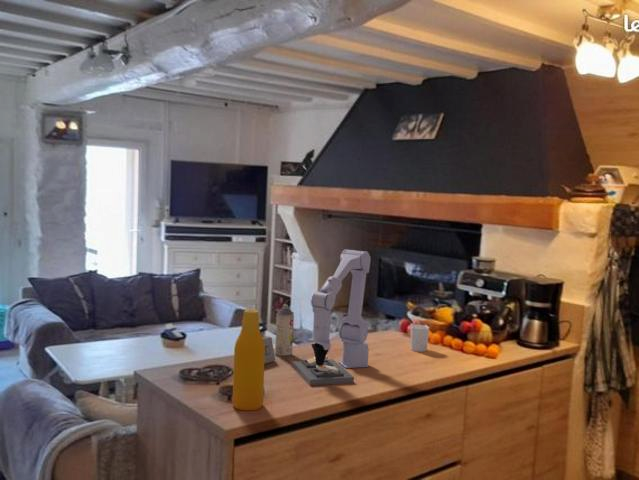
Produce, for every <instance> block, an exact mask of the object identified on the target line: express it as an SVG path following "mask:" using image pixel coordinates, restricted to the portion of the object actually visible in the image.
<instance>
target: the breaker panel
mask: <svg viewBox="0 0 639 480" xmlns="http://www.w3.org/2000/svg"><path fill="white" fill-rule="evenodd" d="M307 360H308V359H301V360H292V361H291V367H292V368H293V369H294V370H295V372H297V374H298V375H299V376H300V377H301V378H302V379H303V380H304V381H305V383H307V384H308V386H326V385H339V384H354V383H355V382H354V381H355V376H353V375H352V374H351V373H350V372H348V371H347V370H346V368H345V367H344V366H343V367H342V365H341V364H340V363H339V362H338V361H335V360H334V359H332V358H331V359H330V358H328V359H327V360H325V361H324V364H323V365H327V366H333V367H336V368H337V369H338V370H339V371H338V373H332V371H328V373H327V372H326V371H320V370H318V369H317V368H316V364H315V365H309V364H308V363H307Z"/></svg>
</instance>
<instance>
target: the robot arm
mask: <svg viewBox="0 0 639 480" xmlns="http://www.w3.org/2000/svg"><path fill="white" fill-rule="evenodd" d="M371 260H372V258H371V255H370V253H369V252H368V251H366V250H364V251H363V250H355V249H348V248H345V249H343V251H342V252H341V254H340V256H339V261H340V263H339V264H338V265H337V268H336V270H335V271H334V273H333V275H332V276H329V277H327V279H326V280H325V282H324V284H323V285H322V287H321V288H320V290H319V291H316V292H314V293H313V294H312V297H311V300H310V304H311V307H312V313H313V324H312V325H313V327H312V334H311V338H309V339H308V340H309V342H311V348H312V349H313V353H314V357H315V359H316V364H317V365H318V366H319V365H323V364H324V361H325V357H326V355H327V354H328V353H329V351H331V343H330V342H331V341H330V340H331V339H330V333H331V332H330V331H331V329H330V328H331V312H332V309H333V308H334V306H335V302H336V298H337V295H338V293H339V292H340V290H341V289H342V286H343V283H342V281H343V280H344V279H345V278H346V276H348V274H349V273H350V274H351V275H352V278H351V287H350V294H349V295H350V296H349V302H348V311H347V316H345V317H344V318H342V319H341V322H340V326H339V329H338V336H339V338H340V339H341V342H342V357H341V358H342V359H341V360H338V361H337V363H338V364H339V365H340V366H341V367H342V366H343V368H344V369H350V368H351V369H352V368H353V369H354V368H369V345H368V343H367V341H366V340H367V339H368V335H369V334H368V332H369V331H368V322H367V321H366V320H364V318H363V317H362V313H363V305H364V298H365V297H364V296H365V287H366V280H367V274H369V273H370V270H371V269H370V267H371Z"/></svg>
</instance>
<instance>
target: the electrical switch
mask: <svg viewBox="0 0 639 480" xmlns="http://www.w3.org/2000/svg"><path fill="white" fill-rule="evenodd" d="M262 338H263V341H264V344H265V361H264V365H265V364H269V363H272V362H275V361H276V355H275V348H274V345H273V340H272V339H273V338H272V337H271V336H268V337H262Z"/></svg>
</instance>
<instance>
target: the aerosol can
mask: <svg viewBox="0 0 639 480" xmlns="http://www.w3.org/2000/svg"><path fill="white" fill-rule="evenodd" d="M294 316H295V314H294V311H292V310H291V309H290V307H289V305H288V304H283V306H282V307H281V308H280V309H279V311H276V323H275V324H276V325H275V347H274V355H275V357H276V356H277V357H281V358H282V357H283V358H287V357H291V356H292V355H293V341H294V323H295V322H294V320H295V319H294V318H295V317H294Z"/></svg>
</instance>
